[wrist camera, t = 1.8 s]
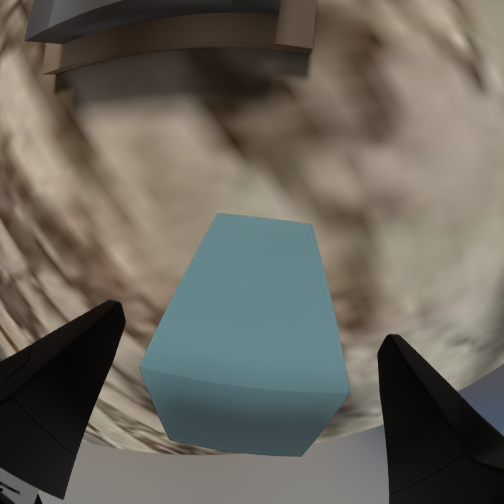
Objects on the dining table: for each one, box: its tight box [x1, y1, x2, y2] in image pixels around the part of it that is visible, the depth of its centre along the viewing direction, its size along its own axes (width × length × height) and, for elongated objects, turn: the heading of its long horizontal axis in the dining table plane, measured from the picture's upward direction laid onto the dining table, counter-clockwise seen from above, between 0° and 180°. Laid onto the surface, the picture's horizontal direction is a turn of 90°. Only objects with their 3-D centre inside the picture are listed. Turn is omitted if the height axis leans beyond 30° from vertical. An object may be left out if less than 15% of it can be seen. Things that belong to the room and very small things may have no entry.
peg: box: [139, 213, 350, 457], centre depth 9 cm, size 4×4×8 cm
